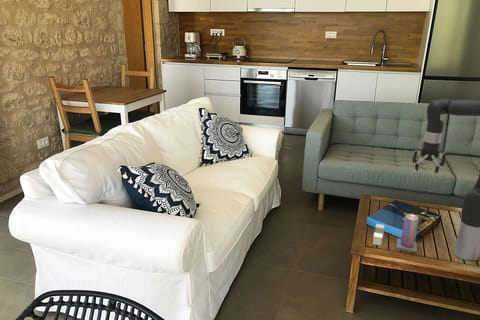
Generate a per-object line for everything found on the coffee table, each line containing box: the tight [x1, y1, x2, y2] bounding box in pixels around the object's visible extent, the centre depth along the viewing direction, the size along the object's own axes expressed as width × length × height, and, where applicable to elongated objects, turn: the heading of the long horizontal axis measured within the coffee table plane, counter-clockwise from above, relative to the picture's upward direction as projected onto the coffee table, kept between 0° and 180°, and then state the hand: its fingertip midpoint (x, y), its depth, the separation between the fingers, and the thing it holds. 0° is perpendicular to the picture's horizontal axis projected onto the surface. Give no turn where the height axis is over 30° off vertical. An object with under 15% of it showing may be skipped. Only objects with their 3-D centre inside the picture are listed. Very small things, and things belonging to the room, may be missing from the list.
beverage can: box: [400, 213, 420, 247], centre depth 186 cm, size 6×6×15 cm
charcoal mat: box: [396, 237, 418, 254], centre depth 189 cm, size 9×9×1 cm
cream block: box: [372, 231, 384, 246], centre depth 191 cm, size 4×4×4 cm
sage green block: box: [374, 223, 385, 235], centre depth 200 cm, size 4×4×4 cm
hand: (426, 171), depth 194 cm, fingers open, 8 cm apart
